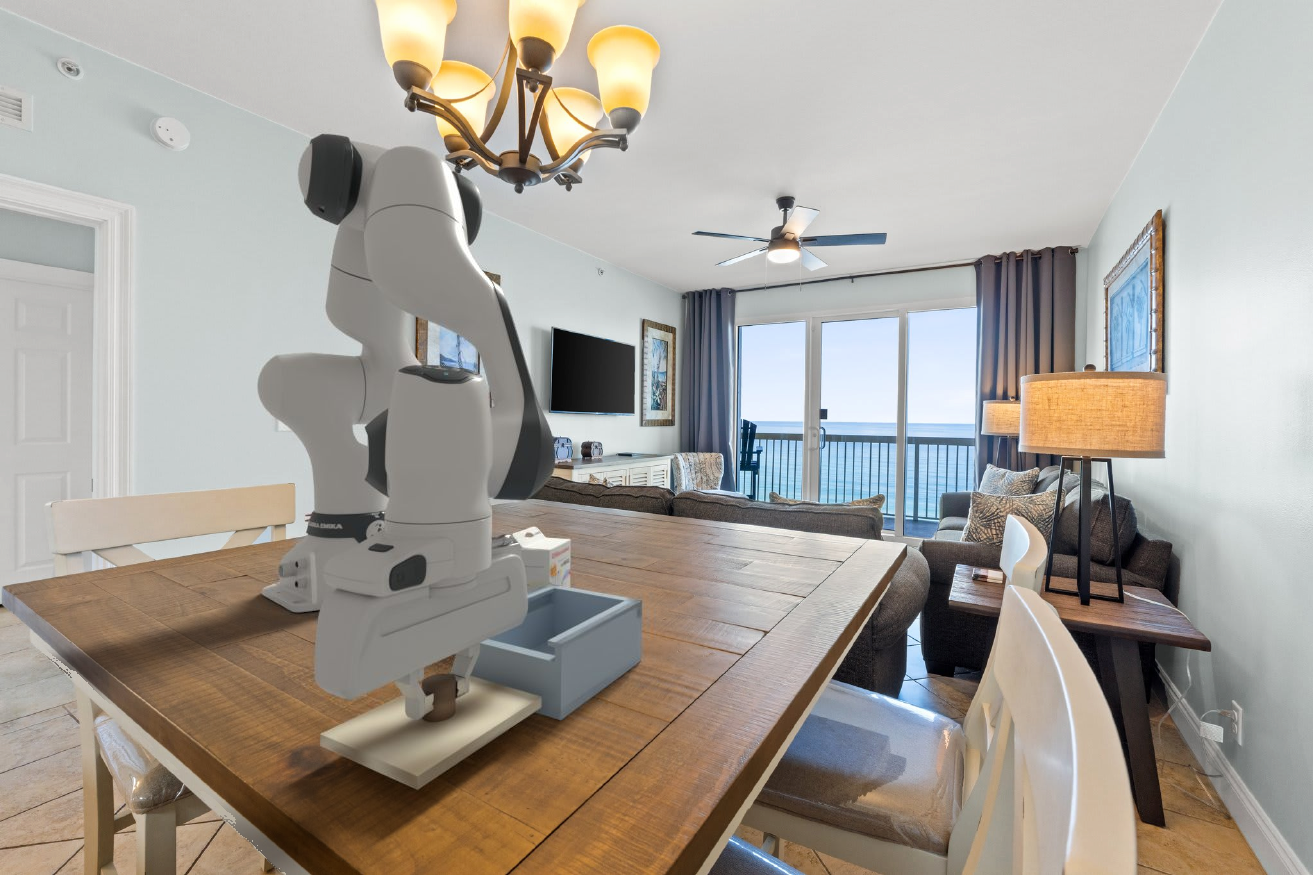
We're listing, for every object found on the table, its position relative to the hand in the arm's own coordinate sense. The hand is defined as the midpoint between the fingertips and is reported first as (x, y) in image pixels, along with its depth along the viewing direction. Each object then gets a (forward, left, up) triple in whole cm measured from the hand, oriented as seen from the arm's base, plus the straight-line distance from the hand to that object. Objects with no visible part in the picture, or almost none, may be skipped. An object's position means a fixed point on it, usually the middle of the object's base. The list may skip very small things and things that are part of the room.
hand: (438, 704), depth 50 cm
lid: (0, 0, -2) cm, 2 cm away
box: (0, +17, -4) cm, 17 cm away
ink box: (-13, +29, -4) cm, 32 cm away
